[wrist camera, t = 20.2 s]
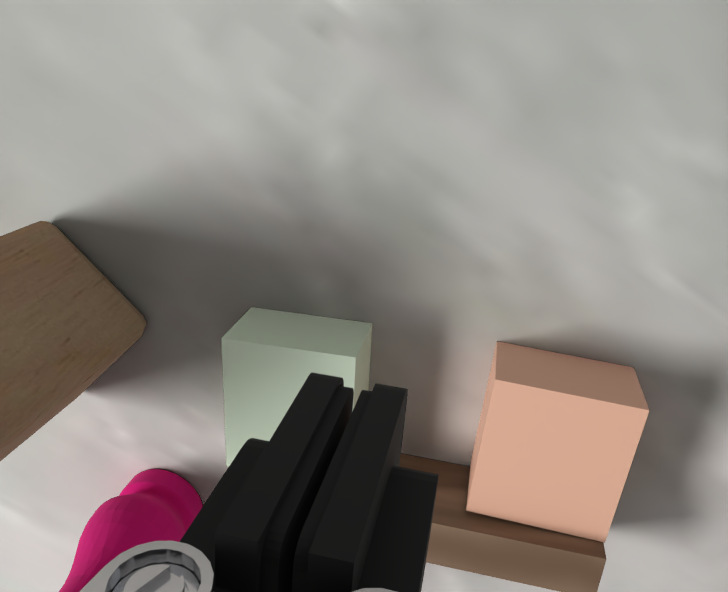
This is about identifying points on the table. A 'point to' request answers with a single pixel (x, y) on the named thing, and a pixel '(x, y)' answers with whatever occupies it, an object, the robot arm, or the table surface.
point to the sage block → (284, 367)
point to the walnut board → (503, 540)
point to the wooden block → (53, 328)
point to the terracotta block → (555, 440)
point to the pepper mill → (134, 522)
